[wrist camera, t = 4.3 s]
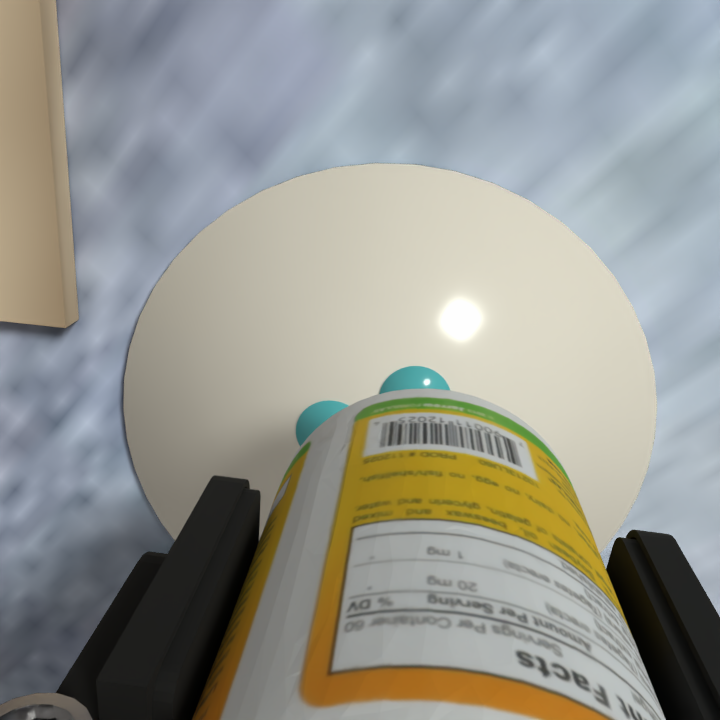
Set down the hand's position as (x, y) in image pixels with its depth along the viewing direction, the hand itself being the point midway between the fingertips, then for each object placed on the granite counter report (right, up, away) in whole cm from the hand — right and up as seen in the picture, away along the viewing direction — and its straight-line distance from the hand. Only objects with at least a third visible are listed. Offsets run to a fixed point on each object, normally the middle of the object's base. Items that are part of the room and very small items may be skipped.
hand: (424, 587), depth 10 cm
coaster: (0, +2, +5) cm, 5 cm away
